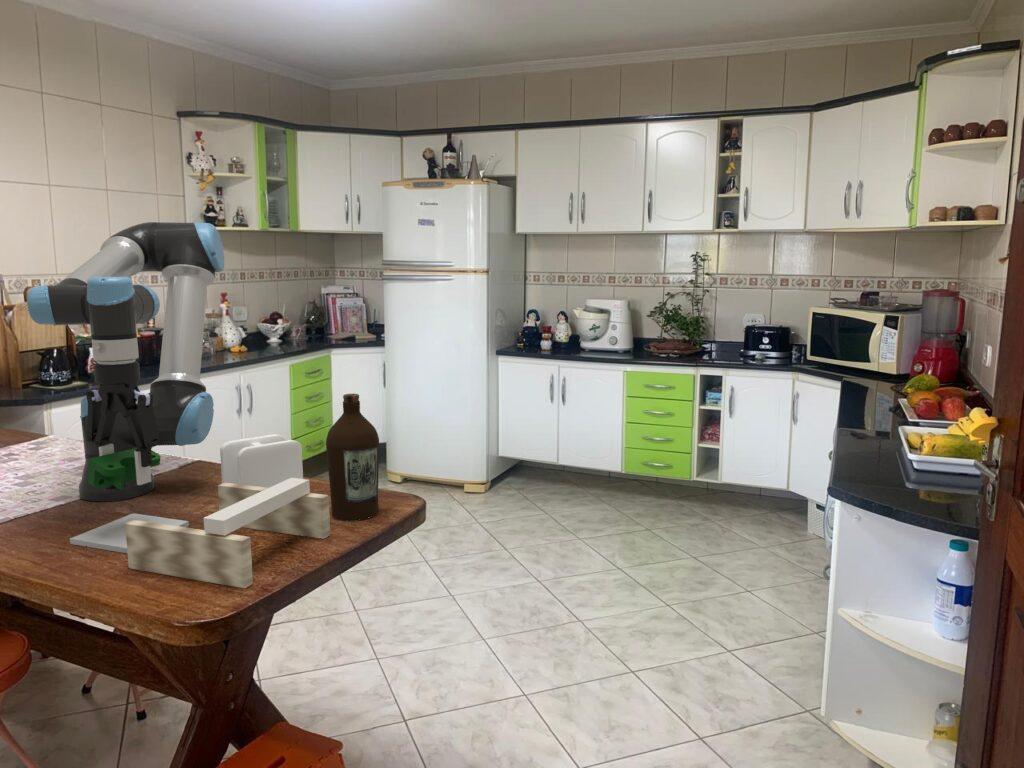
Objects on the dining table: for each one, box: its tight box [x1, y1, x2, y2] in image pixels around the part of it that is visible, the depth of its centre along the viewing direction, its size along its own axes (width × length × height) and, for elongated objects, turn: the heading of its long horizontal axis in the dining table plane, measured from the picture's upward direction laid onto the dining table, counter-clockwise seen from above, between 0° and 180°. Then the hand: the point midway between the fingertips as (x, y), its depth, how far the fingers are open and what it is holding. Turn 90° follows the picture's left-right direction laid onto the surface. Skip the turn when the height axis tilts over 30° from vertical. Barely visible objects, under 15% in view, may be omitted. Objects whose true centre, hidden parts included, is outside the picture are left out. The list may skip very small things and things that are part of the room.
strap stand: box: [125, 482, 331, 589], centre depth 141 cm, size 24×25×8 cm
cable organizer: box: [219, 433, 304, 488], centre depth 176 cm, size 15×11×12 cm
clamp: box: [88, 448, 161, 490], centre depth 147 cm, size 12×6×9 cm, turn 141°
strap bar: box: [203, 478, 311, 536], centre depth 138 cm, size 4×24×2 cm, turn 161°
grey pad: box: [69, 512, 190, 554], centre depth 149 cm, size 14×15×1 cm
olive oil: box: [325, 393, 380, 521], centre depth 159 cm, size 11×11×25 cm
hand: (126, 480), depth 147 cm, fingers closed on clamp, 8 cm apart
